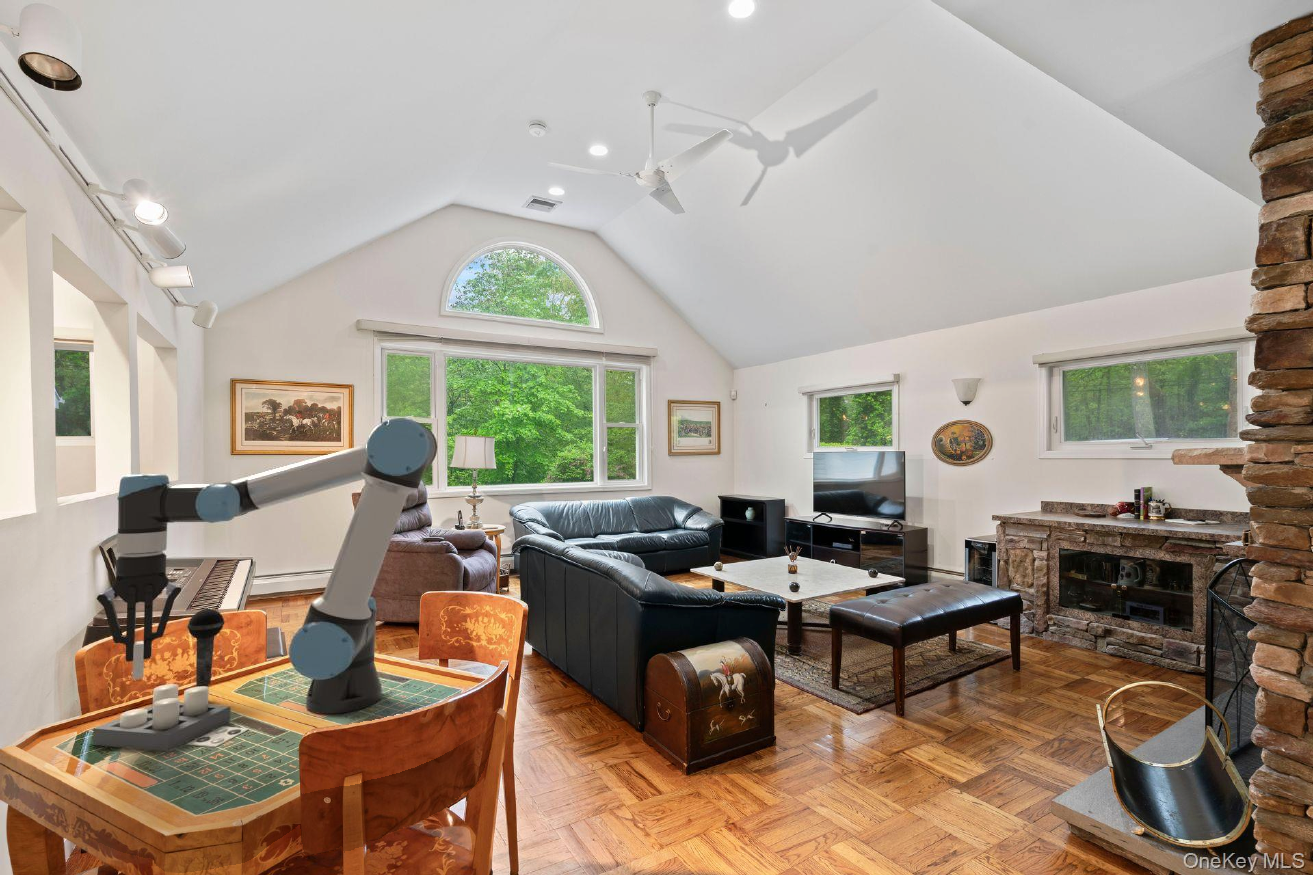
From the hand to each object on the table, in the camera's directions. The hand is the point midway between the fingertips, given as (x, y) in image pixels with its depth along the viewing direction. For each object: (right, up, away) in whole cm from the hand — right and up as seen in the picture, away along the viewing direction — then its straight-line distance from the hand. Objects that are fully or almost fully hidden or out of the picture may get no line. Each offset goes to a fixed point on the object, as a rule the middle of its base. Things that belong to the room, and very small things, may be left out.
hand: (138, 676), depth 121 cm
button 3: (+6, -9, -1) cm, 11 cm away
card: (+15, -12, 0) cm, 19 cm away
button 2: (0, -9, +6) cm, 11 cm away
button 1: (0, -11, -1) cm, 11 cm away
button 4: (+7, -9, +5) cm, 13 cm away
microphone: (-1, -13, +19) cm, 23 cm away
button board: (+3, -12, +2) cm, 12 cm away
